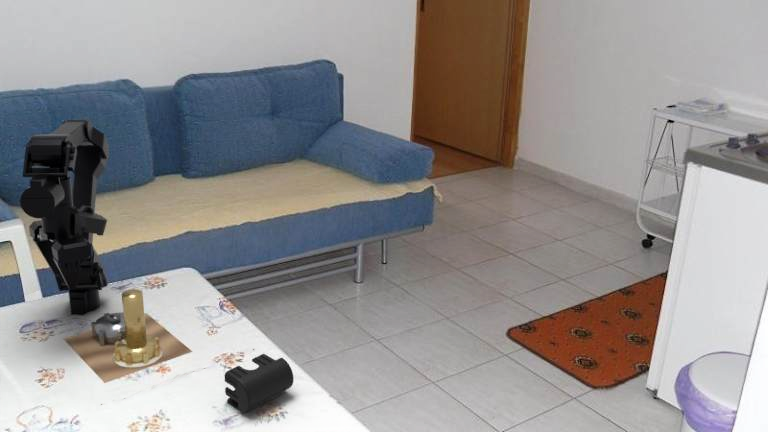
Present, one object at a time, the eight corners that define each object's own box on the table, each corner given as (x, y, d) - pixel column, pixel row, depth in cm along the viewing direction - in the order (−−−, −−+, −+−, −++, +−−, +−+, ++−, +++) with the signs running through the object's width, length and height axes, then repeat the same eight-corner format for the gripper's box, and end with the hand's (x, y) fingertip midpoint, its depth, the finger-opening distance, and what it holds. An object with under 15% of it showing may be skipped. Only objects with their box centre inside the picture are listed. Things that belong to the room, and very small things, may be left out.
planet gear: (126, 340, 147) (120, 282, 143) (167, 344, 146) (162, 285, 142) (106, 363, 140) (100, 302, 135) (150, 367, 139) (144, 305, 134)
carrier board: (64, 345, 148) (63, 337, 148) (146, 319, 159) (146, 311, 158) (105, 390, 135) (104, 381, 134) (192, 358, 146) (192, 350, 145)
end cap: (249, 421, 128) (248, 386, 125) (223, 404, 132) (221, 370, 130) (294, 396, 135) (294, 363, 133) (268, 381, 139) (267, 348, 137)
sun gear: (87, 332, 150) (85, 313, 149) (127, 320, 155) (125, 302, 154) (105, 351, 144) (103, 331, 143) (146, 337, 149) (144, 318, 148)
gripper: (118, 207, 139) (124, 286, 144) (83, 185, 153) (90, 259, 158) (54, 217, 132) (63, 300, 137) (24, 194, 146) (33, 270, 151)
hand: (64, 281), depth 146 cm, fingers open, 9 cm apart
